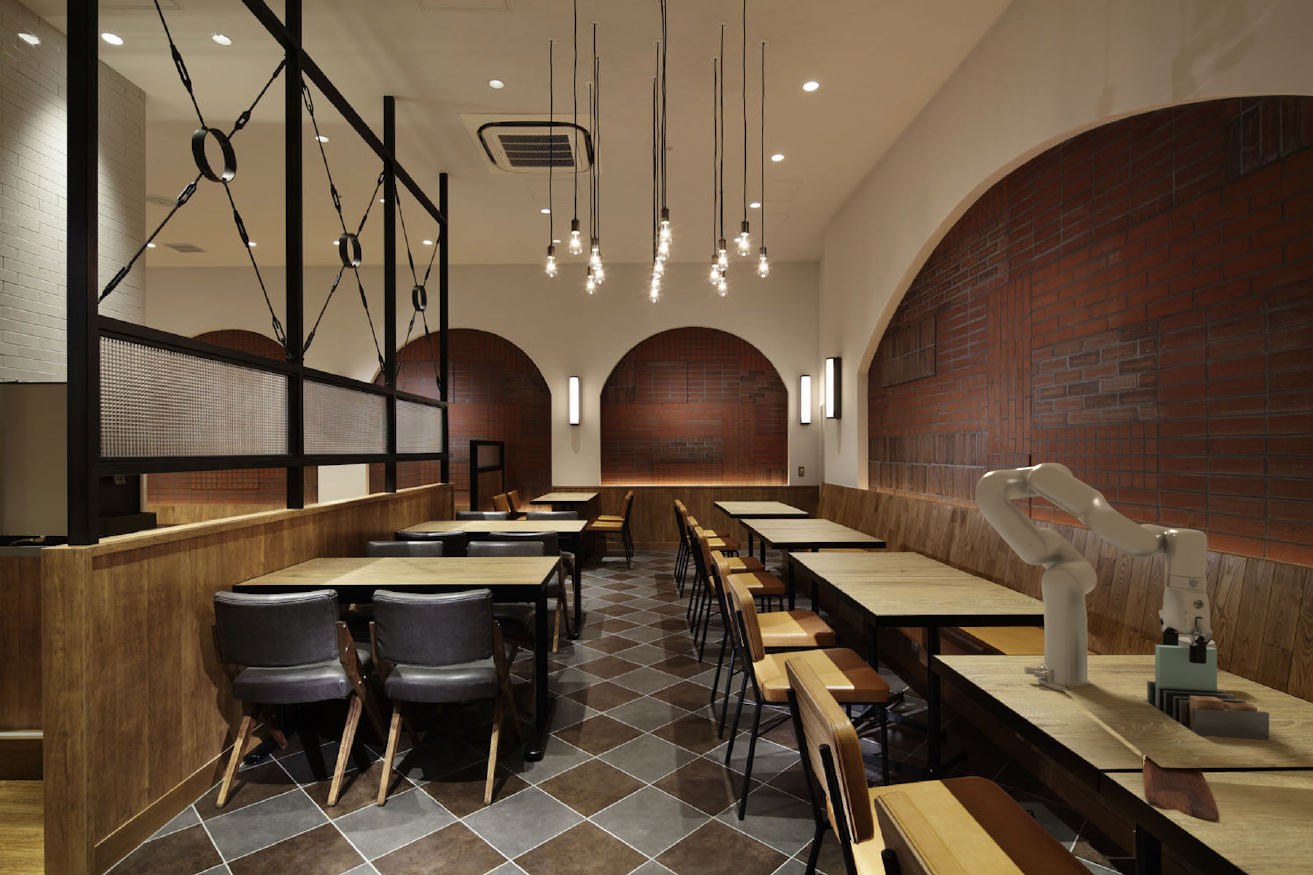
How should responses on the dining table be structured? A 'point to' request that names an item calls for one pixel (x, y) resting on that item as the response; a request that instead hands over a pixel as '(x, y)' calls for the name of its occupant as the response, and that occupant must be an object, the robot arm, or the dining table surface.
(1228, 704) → the short walnut offcut
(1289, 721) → the dining table surface
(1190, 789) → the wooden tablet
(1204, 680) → the teal sheet
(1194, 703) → the tall walnut offcut
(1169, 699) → the rack
